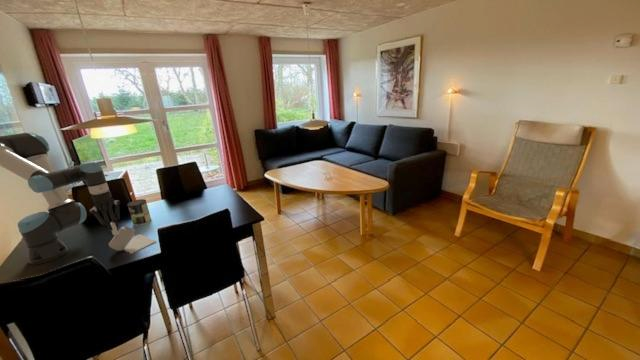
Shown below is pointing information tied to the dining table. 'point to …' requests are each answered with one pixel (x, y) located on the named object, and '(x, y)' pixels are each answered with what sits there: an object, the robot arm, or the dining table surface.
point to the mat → (138, 243)
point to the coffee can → (139, 212)
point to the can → (122, 238)
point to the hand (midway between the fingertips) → (115, 234)
